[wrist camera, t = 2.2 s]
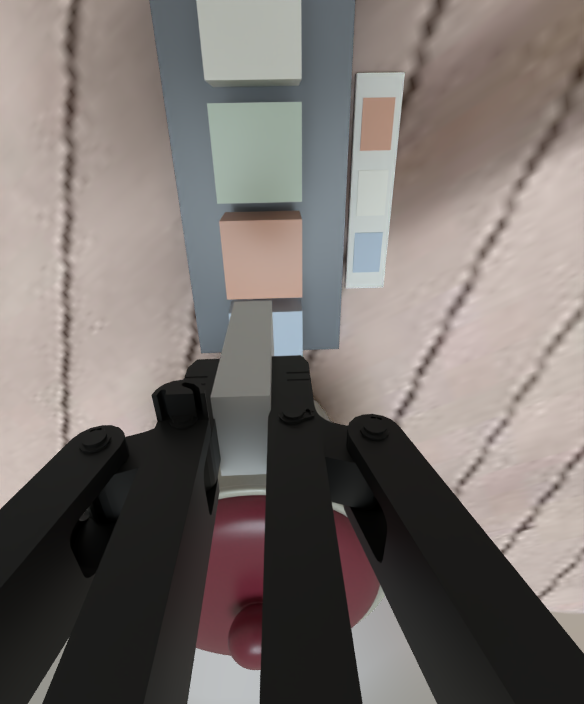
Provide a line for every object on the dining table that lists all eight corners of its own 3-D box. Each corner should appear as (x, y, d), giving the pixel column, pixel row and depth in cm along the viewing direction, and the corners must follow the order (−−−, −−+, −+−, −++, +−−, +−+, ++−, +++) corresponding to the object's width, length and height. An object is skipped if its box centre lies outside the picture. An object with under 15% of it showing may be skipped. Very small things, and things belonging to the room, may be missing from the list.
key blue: (233, 296, 29) (228, 313, 26) (300, 294, 29) (302, 311, 27) (238, 354, 32) (235, 376, 29) (300, 352, 32) (302, 373, 29)
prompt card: (355, 74, 26) (357, 72, 26) (402, 73, 27) (405, 72, 26) (344, 286, 34) (345, 288, 33) (381, 285, 34) (383, 287, 33)
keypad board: (153, -24, 24) (131, -53, 20) (351, -26, 24) (364, -55, 20) (204, 342, 36) (196, 366, 32) (335, 338, 36) (342, 361, 32)
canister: (377, 372, 38) (472, 594, 20) (321, 498, 46) (352, 737, 28) (190, 330, 35) (97, 545, 17) (166, 472, 44) (87, 720, 25)
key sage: (215, 107, 23) (206, 103, 21) (298, 105, 24) (301, 101, 21) (223, 196, 26) (217, 203, 23) (299, 194, 26) (302, 201, 23)
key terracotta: (225, 212, 26) (219, 221, 24) (299, 210, 26) (302, 219, 24) (231, 283, 29) (227, 299, 26) (299, 281, 29) (302, 297, 26)
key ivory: (202, -28, 21) (190, -54, 18) (297, -29, 21) (300, -55, 18) (213, 86, 23) (204, 80, 20) (298, 85, 23) (301, 79, 20)
